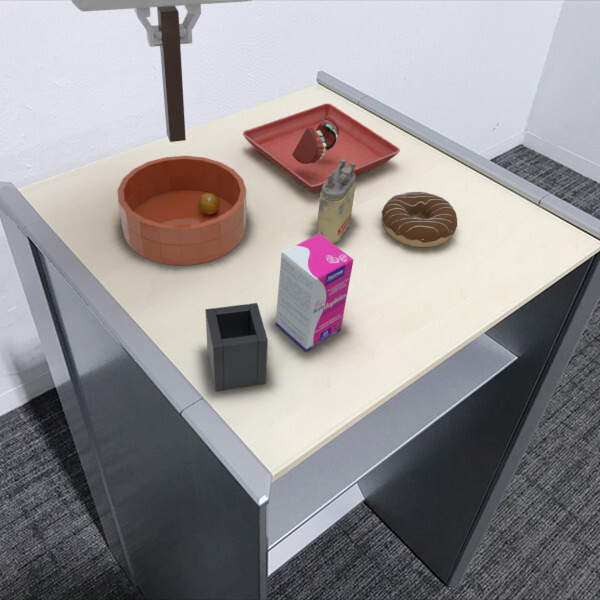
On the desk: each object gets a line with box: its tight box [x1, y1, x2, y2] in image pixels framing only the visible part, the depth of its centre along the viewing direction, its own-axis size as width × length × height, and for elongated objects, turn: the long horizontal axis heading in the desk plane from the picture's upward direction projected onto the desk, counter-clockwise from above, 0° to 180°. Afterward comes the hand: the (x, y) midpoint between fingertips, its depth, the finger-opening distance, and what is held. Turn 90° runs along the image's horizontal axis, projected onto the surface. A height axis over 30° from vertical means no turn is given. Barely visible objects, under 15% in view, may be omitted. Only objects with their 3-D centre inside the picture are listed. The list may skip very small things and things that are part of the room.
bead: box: [198, 193, 220, 215], centre depth 92 cm, size 3×3×3 cm
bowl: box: [116, 155, 247, 266], centre depth 90 cm, size 17×17×6 cm
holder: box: [205, 302, 269, 392], centre depth 72 cm, size 6×6×7 cm
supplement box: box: [274, 234, 354, 352], centre depth 75 cm, size 6×6×12 cm
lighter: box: [315, 159, 357, 244], centre depth 90 cm, size 7×4×10 cm, turn 155°
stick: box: [156, 6, 187, 143], centre depth 79 cm, size 2×2×16 cm
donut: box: [381, 191, 458, 248], centre depth 93 cm, size 11×11×4 cm
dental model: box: [292, 114, 339, 164], centre depth 99 cm, size 6×4×8 cm
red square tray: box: [242, 103, 401, 194], centre depth 105 cm, size 18×18×3 cm
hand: (169, 43), depth 77 cm, fingers closed on stick, 2 cm apart
